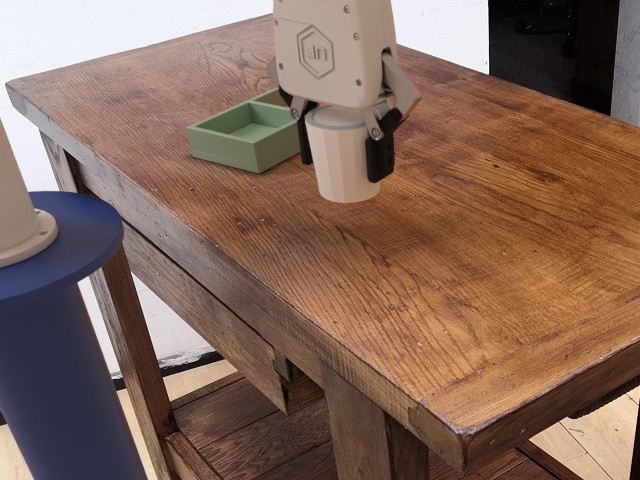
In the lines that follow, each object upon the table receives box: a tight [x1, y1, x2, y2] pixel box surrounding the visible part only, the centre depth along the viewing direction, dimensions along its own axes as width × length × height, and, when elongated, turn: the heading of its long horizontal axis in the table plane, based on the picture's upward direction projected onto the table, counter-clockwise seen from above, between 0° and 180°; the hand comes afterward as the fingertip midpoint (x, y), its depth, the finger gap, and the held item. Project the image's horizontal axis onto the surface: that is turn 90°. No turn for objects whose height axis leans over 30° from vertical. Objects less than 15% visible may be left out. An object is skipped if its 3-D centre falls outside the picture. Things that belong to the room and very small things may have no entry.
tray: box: [185, 86, 327, 174], centre depth 100 cm, size 20×10×4 cm, turn 147°
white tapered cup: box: [305, 105, 382, 204], centre depth 75 cm, size 7×7×7 cm
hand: (347, 167), depth 76 cm, fingers closed on white tapered cup, 6 cm apart
